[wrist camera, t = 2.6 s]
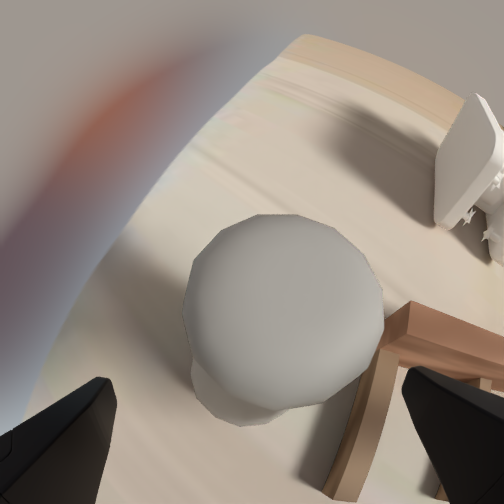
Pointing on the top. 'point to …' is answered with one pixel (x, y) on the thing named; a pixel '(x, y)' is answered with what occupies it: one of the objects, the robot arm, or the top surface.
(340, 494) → the wooden letter e
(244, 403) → the salt shaker
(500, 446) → the robot arm
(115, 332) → the top surface
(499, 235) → the cable organizer
